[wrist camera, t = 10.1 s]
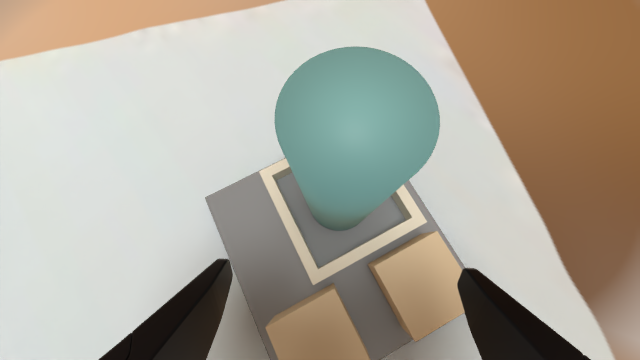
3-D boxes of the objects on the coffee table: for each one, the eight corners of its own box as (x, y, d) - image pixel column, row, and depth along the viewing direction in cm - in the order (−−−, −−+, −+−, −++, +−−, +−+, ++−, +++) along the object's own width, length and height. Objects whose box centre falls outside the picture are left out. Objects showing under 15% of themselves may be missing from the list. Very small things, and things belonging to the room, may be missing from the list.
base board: (294, 402, 19) (284, 444, 15) (211, 200, 23) (185, 189, 19) (474, 293, 20) (511, 305, 16) (365, 123, 24) (373, 98, 20)
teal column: (326, 241, 20) (321, 226, 7) (298, 188, 22) (249, 86, 8) (380, 212, 21) (474, 144, 7) (350, 162, 22) (384, 24, 9)
